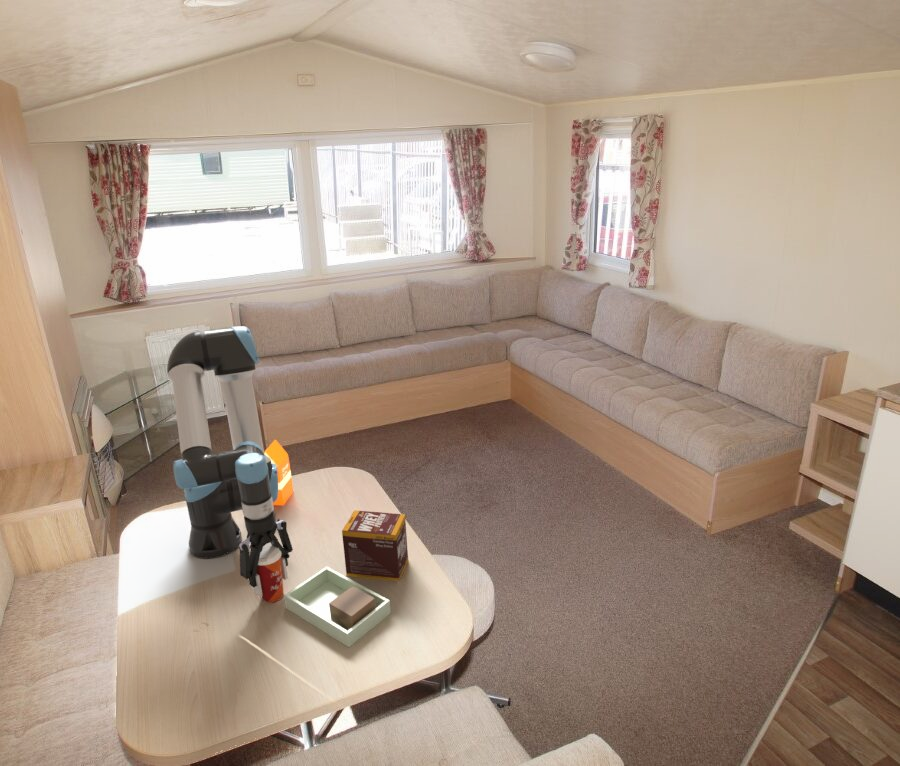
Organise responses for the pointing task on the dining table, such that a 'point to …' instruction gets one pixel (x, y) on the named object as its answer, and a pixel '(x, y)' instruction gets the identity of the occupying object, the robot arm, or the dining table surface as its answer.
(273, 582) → the paper cup
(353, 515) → the supplement box
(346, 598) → the walnut block
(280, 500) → the orange juice
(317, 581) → the tote
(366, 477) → the dining table surface
